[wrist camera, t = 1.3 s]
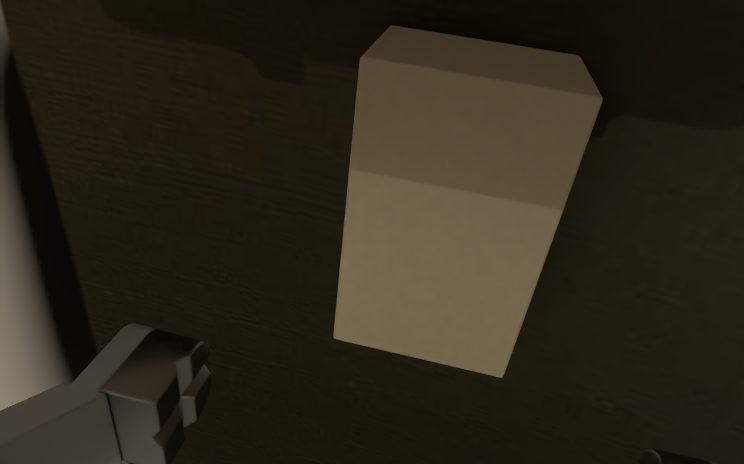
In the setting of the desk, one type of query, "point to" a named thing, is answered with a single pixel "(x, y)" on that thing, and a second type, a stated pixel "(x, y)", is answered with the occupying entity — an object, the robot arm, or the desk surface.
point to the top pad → (456, 192)
